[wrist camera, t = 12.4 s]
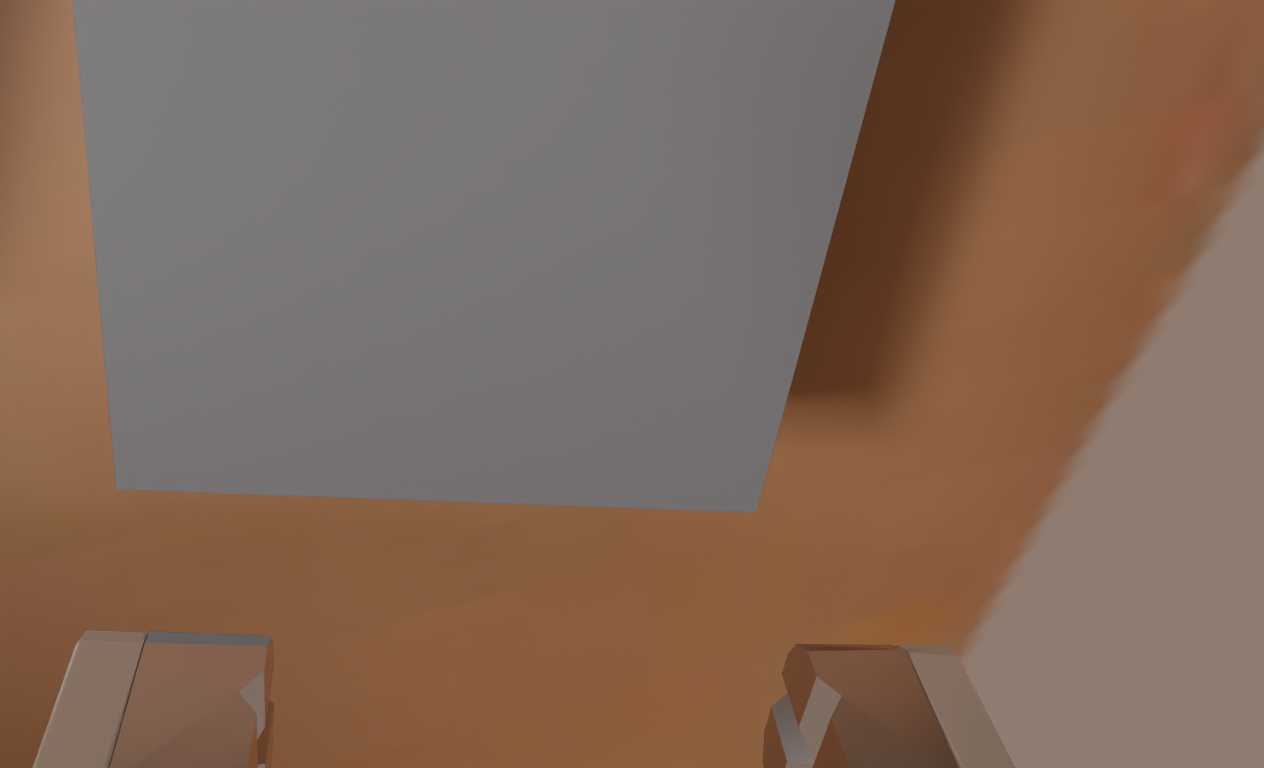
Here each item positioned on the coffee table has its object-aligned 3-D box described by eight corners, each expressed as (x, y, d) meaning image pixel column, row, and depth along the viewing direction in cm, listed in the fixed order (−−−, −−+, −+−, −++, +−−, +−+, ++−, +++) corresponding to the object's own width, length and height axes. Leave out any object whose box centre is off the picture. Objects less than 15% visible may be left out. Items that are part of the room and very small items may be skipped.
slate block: (716, 401, 27) (755, 512, 24) (158, 370, 24) (116, 489, 21) (849, -168, 21) (929, -126, 17) (118, -286, 18) (49, -264, 15)
